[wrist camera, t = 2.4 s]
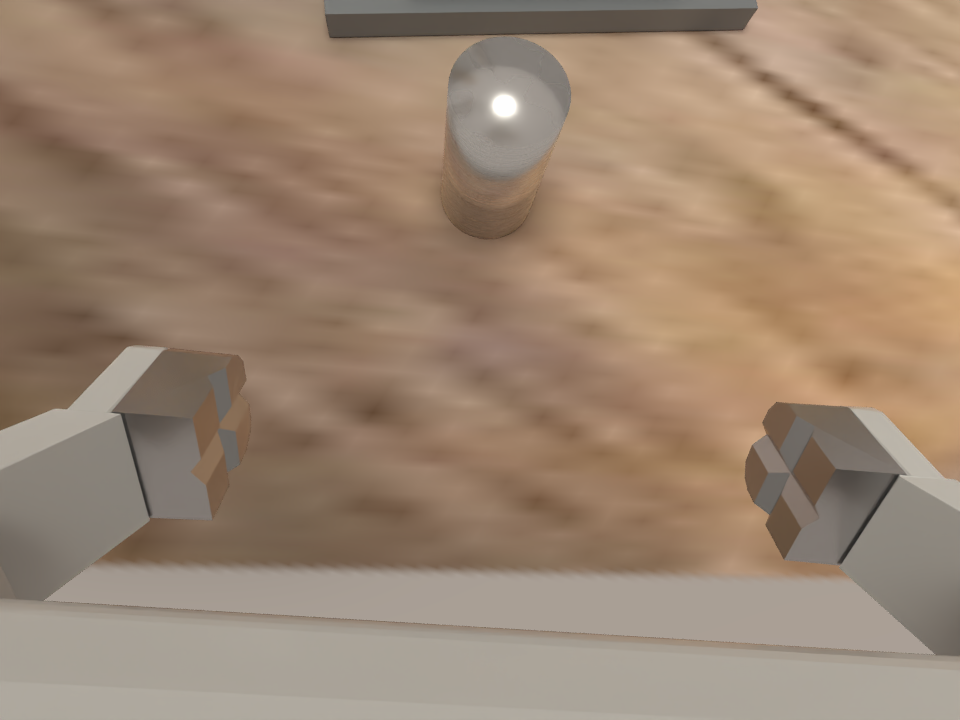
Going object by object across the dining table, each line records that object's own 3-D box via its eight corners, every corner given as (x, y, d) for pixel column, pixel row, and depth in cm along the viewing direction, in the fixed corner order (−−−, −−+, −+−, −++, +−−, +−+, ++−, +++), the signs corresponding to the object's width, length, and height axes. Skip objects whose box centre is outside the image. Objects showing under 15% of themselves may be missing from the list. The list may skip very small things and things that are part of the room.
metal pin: (445, 241, 28) (454, 149, 21) (437, 156, 29) (442, 37, 21) (536, 236, 29) (578, 144, 21) (525, 153, 30) (562, 35, 22)
